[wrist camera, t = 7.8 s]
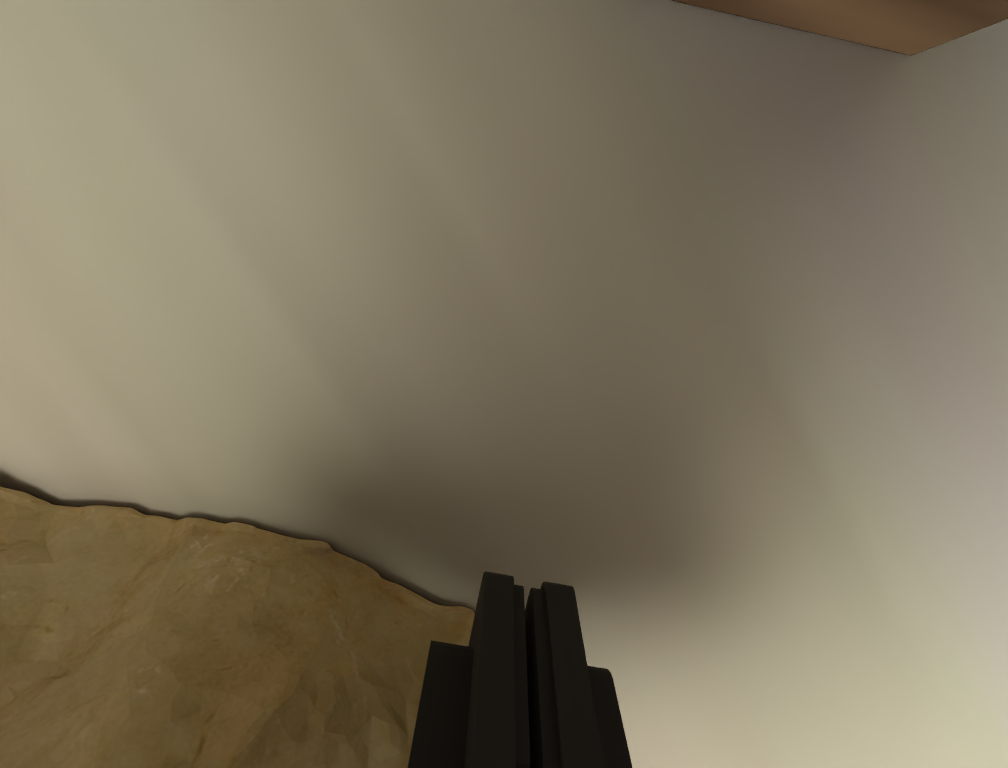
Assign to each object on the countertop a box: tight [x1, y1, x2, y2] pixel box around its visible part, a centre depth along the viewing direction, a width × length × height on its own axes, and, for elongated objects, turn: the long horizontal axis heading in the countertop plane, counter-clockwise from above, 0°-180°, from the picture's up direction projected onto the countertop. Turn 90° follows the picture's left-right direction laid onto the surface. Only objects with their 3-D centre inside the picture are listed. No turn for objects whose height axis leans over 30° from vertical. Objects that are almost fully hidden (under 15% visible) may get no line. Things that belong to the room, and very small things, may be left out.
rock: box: [0, 486, 475, 768], centre depth 9 cm, size 11×9×10 cm
